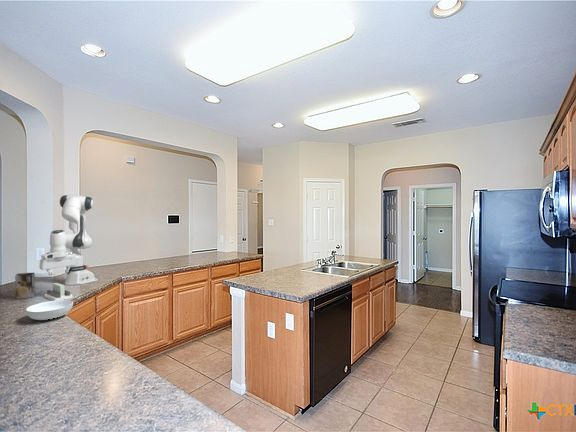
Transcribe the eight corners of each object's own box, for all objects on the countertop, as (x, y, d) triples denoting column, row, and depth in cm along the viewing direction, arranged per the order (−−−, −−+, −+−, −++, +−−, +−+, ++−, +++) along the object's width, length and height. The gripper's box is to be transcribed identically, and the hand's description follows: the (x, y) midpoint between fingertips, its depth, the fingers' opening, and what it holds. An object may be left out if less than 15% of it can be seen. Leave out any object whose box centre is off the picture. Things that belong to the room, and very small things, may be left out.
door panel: (56, 292, 206) (56, 282, 206) (64, 295, 200) (64, 285, 200) (52, 293, 204) (52, 283, 204) (60, 296, 198) (60, 286, 198)
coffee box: (35, 294, 207) (35, 272, 207) (32, 297, 201) (32, 274, 201) (18, 296, 203) (18, 273, 202) (14, 299, 197) (14, 275, 197)
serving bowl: (67, 308, 182) (67, 297, 181) (78, 316, 168) (78, 304, 168) (22, 317, 165) (22, 305, 165) (30, 327, 152) (30, 314, 152)
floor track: (61, 293, 211) (61, 287, 211) (72, 297, 202) (72, 291, 202) (44, 297, 202) (44, 290, 202) (55, 301, 193) (55, 294, 193)
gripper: (73, 251, 212) (73, 270, 212) (38, 255, 194) (38, 276, 195) (77, 252, 208) (78, 271, 209) (42, 256, 191) (42, 277, 192)
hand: (58, 273), depth 202 cm, fingers open, 8 cm apart
